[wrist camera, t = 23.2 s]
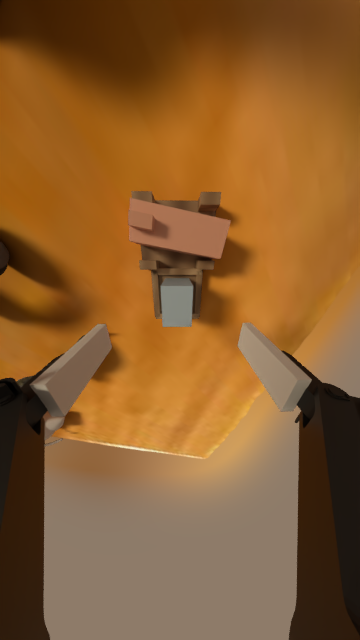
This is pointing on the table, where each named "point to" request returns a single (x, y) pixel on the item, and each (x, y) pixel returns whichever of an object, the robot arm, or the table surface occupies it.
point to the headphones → (3, 258)
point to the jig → (175, 262)
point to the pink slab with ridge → (176, 229)
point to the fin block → (177, 302)
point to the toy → (52, 426)
